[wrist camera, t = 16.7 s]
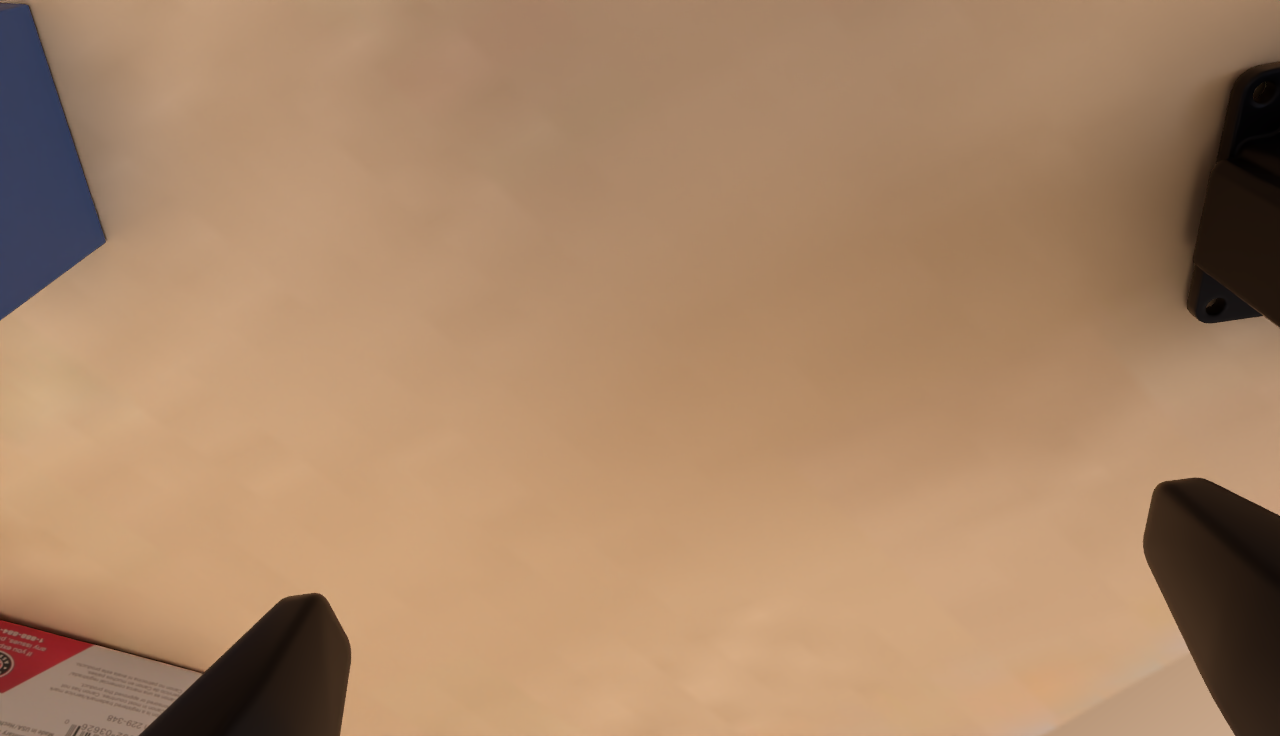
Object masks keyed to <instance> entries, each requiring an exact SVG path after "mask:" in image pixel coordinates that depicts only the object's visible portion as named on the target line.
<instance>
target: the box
mask: <svg viewBox="0 0 1280 736" xmlns="http://www.w3.org/2000/svg"><path fill="white" fill-rule="evenodd" d="M105 242H106V240H105V237H104V234H103V231H102V228H101V225H100V222H99V219H98V216H97V213H96V210H95V207H94V204H93V201H92V198H91V194H90V191H89V188H88V185H87V182H86V179H85V176H84V173H83V170H82V167H81V164H80V161H79V158H78V155H77V152H76V149H75V146H74V143H73V140H72V137H71V134H70V131H69V128H68V124H67V121H66V118H65V115H64V112H63V109H62V106H61V103H60V100H59V97H58V94H57V91H56V88H55V85H54V82H53V79H52V76H51V73H50V70H49V67H48V64H47V61H46V57H45V54H44V51H43V48H42V45H41V42H40V39H39V36H38V33H37V30H36V27H35V24H34V21H33V18H32V15H31V12H30V9H29V6H28V5H26V4H12V3H0V320H2V319H3V318H4V317H6V316H7V315H8V314H10V313H11V312H12V311H14V310H15V309H16V308H18V307H19V306H20V305H22V304H23V303H24V302H26V301H27V300H29V299H30V298H31V297H33V296H34V295H35V294H37V293H38V292H39V291H41V290H42V289H43V288H45V287H46V286H47V285H49V284H50V283H51V282H53V281H54V280H55V279H57V278H58V277H60V276H61V275H62V274H64V273H65V272H66V271H68V270H69V269H70V268H72V267H73V266H74V265H76V264H77V263H78V262H80V261H81V260H82V259H84V258H85V257H86V256H88V255H89V254H91V253H92V252H93V251H95V250H96V249H97V248H99V247H100V246H101V245H103V244H104V243H105Z"/></svg>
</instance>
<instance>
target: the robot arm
mask: <svg viewBox="0 0 1280 736" xmlns="http://www.w3.org/2000/svg"><path fill="white" fill-rule="evenodd" d="M1263 82H1266V87H1265V89H1264V91H1263V93H1261V94H1260V95H1259V96H1258V97H1256V98H1254V99H1253V93H1254V91H1255V89H1256V88H1257V87H1258V86H1259V85H1260V84H1261V83H1263ZM1193 262H1194V263H1195V267H1194V272H1193V276H1192V281H1191V286H1190V291H1189V296H1188V300H1187V309H1188V310H1189V312H1190V313H1191V314H1192V315H1193V316H1194V317H1196V318H1197V319H1198V320H1199V321H1201V322H1204V323H1217V322H1224V321H1231V320H1238V319H1245V318H1252V317H1259V316H1264V317H1266V318H1267V319H1268V320H1270V321H1271V322H1273V323H1274V324H1275V325H1277V326H1278V327H1279V328H1280V62H1277V63H1271V64H1265V65H1259V66H1256V67H1253V68H1251V69H1249V70H1247V71H1246V72H1244V73H1243V74H1242V75H1241V76H1240V77H1239V78H1238V79H1237V81H1236V82H1235V83H1234V85H1233V88H1232V90H1231V94H1230V98H1229V103H1228V108H1227V113H1226V118H1225V123H1224V127H1223V132H1222V137H1221V142H1220V147H1219V151H1218V156H1217V161H1216V165H1215V167H1214V168H1213V170H1212V171H1211V174H1210V178H1209V183H1208V188H1207V193H1206V198H1205V203H1204V208H1203V212H1202V217H1201V222H1200V227H1199V232H1198V237H1197V242H1196V246H1195V251H1194V256H1193ZM1216 298H1217V299H1216ZM1213 299H1216V301H1215V303H1214V304H1212V305H1211V306H1209V307H1207V308H1206V306H1207V304H1208V303H1209V302H1210V301H1212V300H1213ZM1143 548H1144V554H1145V557H1146V560H1147V563H1148V565H1149V567H1150V569H1151V571H1152V573H1153V575H1154V577H1155V580H1156V582H1157V584H1158V586H1159V588H1160V590H1161V592H1162V594H1163V596H1164V598H1165V601H1166V603H1167V605H1168V607H1169V609H1170V611H1171V613H1172V615H1173V617H1174V619H1175V621H1176V624H1177V626H1178V628H1179V630H1180V632H1181V634H1182V636H1183V638H1184V640H1185V642H1186V645H1187V647H1188V649H1189V651H1190V653H1191V655H1192V657H1193V659H1194V661H1195V663H1196V665H1197V668H1198V670H1199V672H1200V674H1201V675H1202V678H1203V679H1204V682H1205V684H1206V686H1207V687H1208V689H1209V691H1210V693H1211V695H1212V697H1213V699H1214V701H1215V702H1216V704H1217V706H1218V708H1219V709H1220V711H1221V713H1222V714H1223V716H1224V718H1225V720H1226V721H1227V723H1228V724H1229V726H1230V728H1231V729H1232V731H1233V733H1234V734H1235V736H1280V516H1279V515H1277V514H1275V513H1273V512H1271V511H1269V510H1267V509H1265V508H1263V507H1261V506H1259V505H1257V504H1255V503H1253V502H1251V501H1249V500H1247V499H1245V498H1243V497H1241V496H1239V495H1237V494H1235V493H1233V492H1231V491H1229V490H1227V489H1225V488H1223V487H1221V486H1219V485H1217V484H1215V483H1213V482H1211V481H1209V480H1206V479H1203V478H1188V479H1180V480H1172V481H1165V482H1162V483H1160V484H1158V485H1157V487H1156V488H1155V489H1154V492H1153V495H1152V499H1151V504H1150V509H1149V513H1148V518H1147V523H1146V528H1145V532H1144V538H1143ZM350 664H351V648H350V643H349V640H348V637H347V635H346V634H345V632H344V630H343V628H342V626H341V624H340V623H339V621H338V619H337V617H336V615H335V613H334V611H333V610H332V608H331V606H330V604H329V602H328V601H327V599H326V598H325V597H324V596H323V595H321V594H318V593H311V594H303V595H295V596H289V597H286V598H284V599H282V600H281V601H279V602H278V603H277V604H276V605H275V606H274V607H273V608H272V609H271V610H270V611H268V612H267V613H266V614H265V615H264V616H263V617H262V618H261V619H260V620H259V621H258V622H257V623H256V624H255V625H254V626H253V627H252V628H251V629H250V630H249V631H248V632H246V633H245V634H244V635H243V636H242V637H241V638H240V639H239V640H238V641H237V642H236V643H235V644H234V645H233V646H232V647H231V648H230V649H229V650H228V651H227V652H225V653H224V654H223V655H222V656H221V657H220V658H219V659H218V660H217V661H216V662H215V663H214V664H213V665H212V666H211V667H210V668H209V669H208V670H207V671H206V672H204V673H203V674H202V675H201V676H200V677H199V678H198V679H197V680H196V681H195V682H194V683H193V684H192V685H191V686H190V687H189V688H188V689H187V690H186V691H185V692H184V693H182V694H181V695H180V696H179V697H178V698H177V699H176V700H175V701H174V702H173V703H172V704H171V705H170V706H169V707H168V708H167V709H166V710H165V711H164V712H163V713H161V714H160V715H159V716H158V717H157V718H156V719H155V720H154V721H153V722H152V723H151V724H150V725H149V726H148V727H147V728H146V729H145V730H144V731H143V732H142V733H140V734H139V735H138V736H340V731H341V724H342V717H343V711H344V704H345V697H346V691H347V684H348V677H349V671H350Z"/></svg>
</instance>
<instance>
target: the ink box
mask: <svg viewBox="0 0 1280 736" xmlns="http://www.w3.org/2000/svg"><path fill="white" fill-rule="evenodd" d="M201 675H202V673H199V672H195V671H192V670H188V669H184V668H180V667H177V666H173V665H169V664H165V663H162V662H158V661H154V660H150V659H147V658H143V657H139V656H136V655H132V654H128V653H124V652H120V651H116V650H113V649H109V648H105V647H102V646H98V645H94V644H89V643H86V642H82V641H78V640H74V639H70V638H67V637H63V636H59V635H56V634H52V633H48V632H45V631H41V630H37V629H33V628H29V627H26V626H23V625H18V624H14V623H10V622H6V621H2V620H0V736H138V735H139V734H140V733H142V732H143V731H144V730H145V729H146V728H147V727H148V726H149V725H150V724H151V723H152V722H153V721H154V720H155V719H156V718H157V717H158V716H159V715H160V714H161V713H163V712H164V711H165V710H166V709H167V708H168V707H169V706H170V705H171V704H172V703H173V702H174V701H175V700H176V699H177V698H178V697H179V696H180V695H181V694H182V693H184V692H185V691H186V690H187V689H188V688H189V687H190V686H191V685H192V684H193V683H194V682H195V681H196V680H197V679H198V678H199V677H200V676H201Z"/></svg>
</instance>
